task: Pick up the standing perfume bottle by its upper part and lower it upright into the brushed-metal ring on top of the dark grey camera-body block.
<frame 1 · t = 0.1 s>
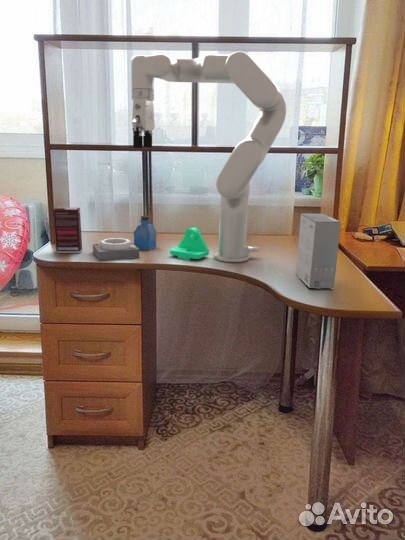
hand: (143, 147, 167), 37 cm above the table, tool pointing down, fingers open, 9 cm apart
supplement box: (69, 252, 174), on the table
hard drive box: (313, 282, 146), on the table
camera mount: (188, 258, 171), on the table
perfume bottle: (145, 248, 183), on the table
camera body block: (115, 254, 171), on the table
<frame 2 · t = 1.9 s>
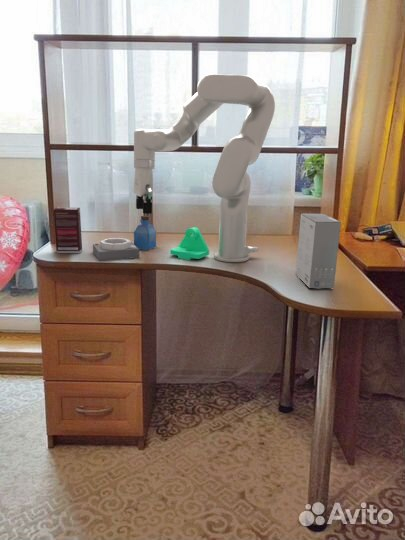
hand: (143, 211, 179), 14 cm above the table, tool pointing down, fingers open, 9 cm apart
nothing on the table moved.
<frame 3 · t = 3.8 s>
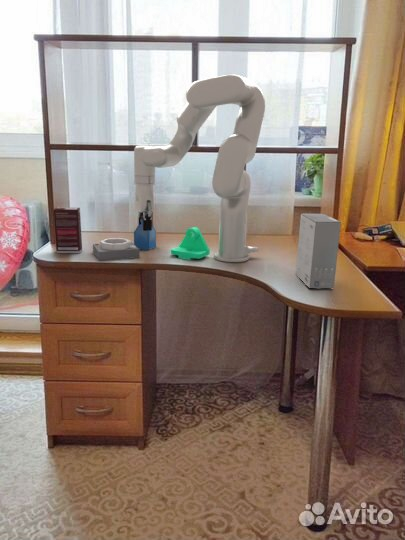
hand: (145, 228, 181), 7 cm above the table, tool pointing down, fingers closed on perfume bottle, 5 cm apart
perfume bottle: (145, 248, 183), on the table, touching gripper
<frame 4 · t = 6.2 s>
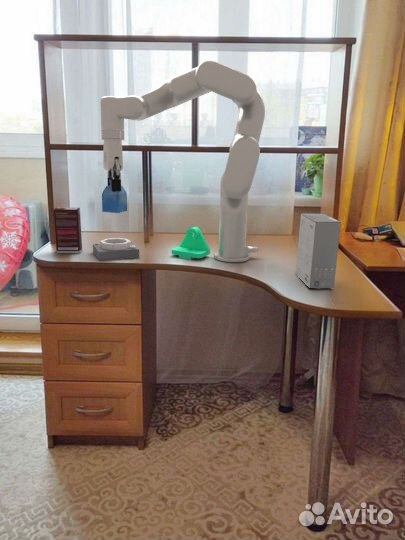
hand: (114, 189, 165), 23 cm above the table, tool pointing down, fingers closed on perfume bottle, 5 cm apart
perfume bottle: (114, 211, 167), point 15 cm above the table, touching gripper
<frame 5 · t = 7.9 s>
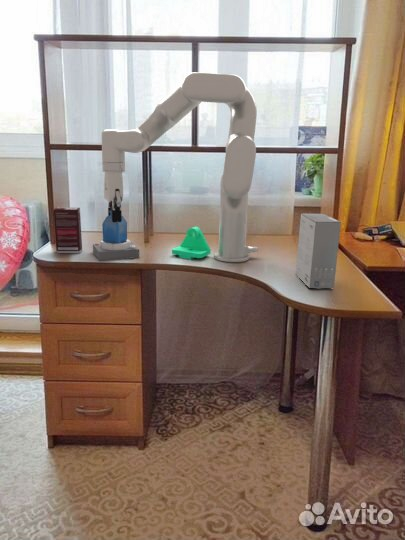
hand: (114, 219, 168), 13 cm above the table, tool pointing down, fingers closed on perfume bottle, 5 cm apart
perfume bottle: (115, 240, 170), point 5 cm above the table, touching gripper
when the fingers open (12 cm above the table, at t = 9.2 s): perfume bottle stays where it is, resting on camera body block.
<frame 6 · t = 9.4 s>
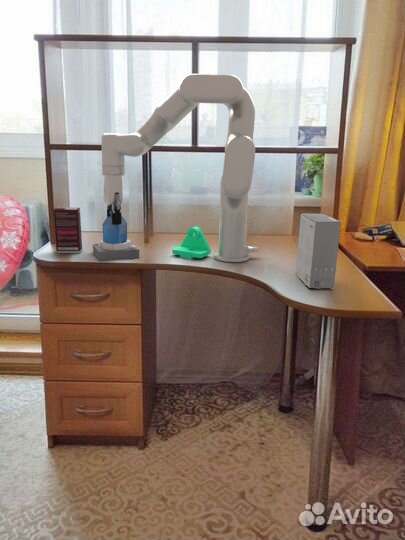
hand: (114, 221, 168), 12 cm above the table, tool pointing down, fingers open, 7 cm apart
perfume bottle: (115, 241, 170), point 5 cm above the table, touching camera body block
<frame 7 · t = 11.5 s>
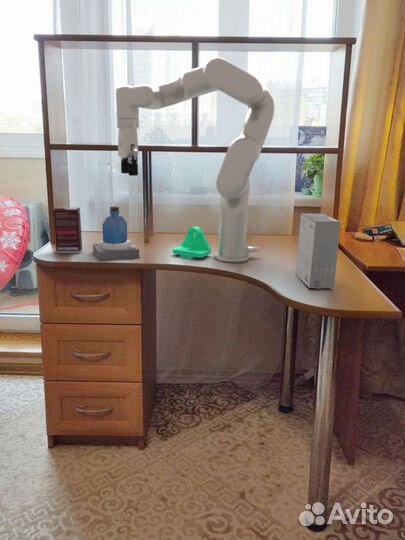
hand: (129, 174, 171), 28 cm above the table, tool pointing down, fingers open, 9 cm apart
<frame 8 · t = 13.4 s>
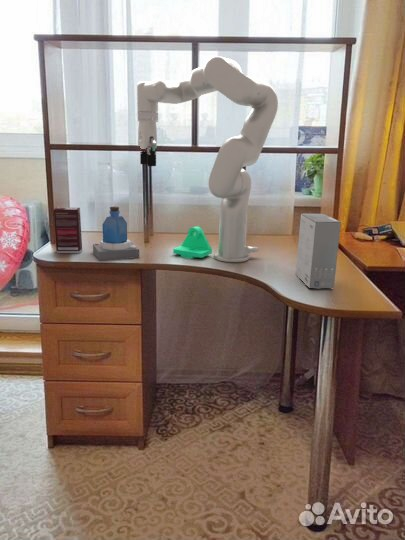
hand: (148, 165, 181), 30 cm above the table, tool pointing down, fingers open, 9 cm apart
at the end: perfume bottle 0.1 cm off-centre on the camera body block, point 4.8 cm above the camera body block's base; perfume bottle tilted 0°; the gripper is holding nothing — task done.
